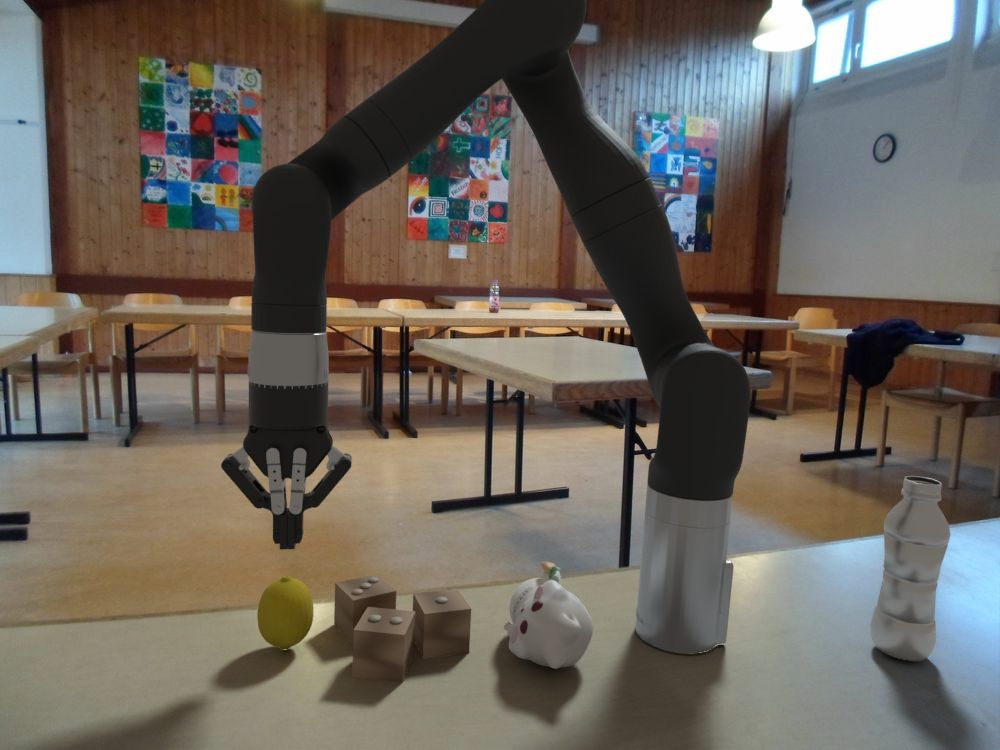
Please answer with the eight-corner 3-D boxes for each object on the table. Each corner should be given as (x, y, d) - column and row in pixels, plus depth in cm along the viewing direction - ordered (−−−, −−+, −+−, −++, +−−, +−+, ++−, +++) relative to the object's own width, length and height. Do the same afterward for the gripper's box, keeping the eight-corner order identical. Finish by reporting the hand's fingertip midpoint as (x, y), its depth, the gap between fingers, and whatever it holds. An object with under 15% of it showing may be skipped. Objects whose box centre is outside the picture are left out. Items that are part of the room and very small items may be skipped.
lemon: (297, 667, 71) (298, 590, 70) (246, 659, 73) (247, 583, 71) (321, 641, 77) (323, 569, 76) (274, 633, 78) (274, 562, 77)
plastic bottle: (929, 648, 83) (952, 478, 80) (936, 676, 77) (962, 493, 74) (866, 634, 85) (887, 469, 83) (868, 659, 79) (891, 482, 77)
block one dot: (455, 631, 81) (457, 587, 80) (469, 653, 76) (471, 606, 75) (411, 636, 79) (413, 591, 78) (422, 660, 74) (424, 612, 74)
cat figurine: (528, 541, 83) (562, 580, 69) (584, 576, 85) (629, 621, 70) (483, 613, 83) (508, 668, 68) (541, 647, 84) (577, 708, 69)
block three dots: (375, 615, 83) (376, 572, 83) (394, 633, 79) (396, 589, 79) (334, 625, 81) (335, 581, 80) (352, 645, 77) (353, 598, 76)
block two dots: (413, 657, 75) (415, 609, 74) (402, 683, 70) (404, 632, 69) (366, 652, 75) (367, 604, 75) (352, 678, 70) (353, 627, 70)
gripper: (358, 373, 76) (355, 532, 78) (225, 370, 73) (226, 535, 76) (357, 384, 68) (353, 559, 71) (209, 381, 66) (211, 563, 68)
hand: (287, 546), depth 73 cm, fingers closed
